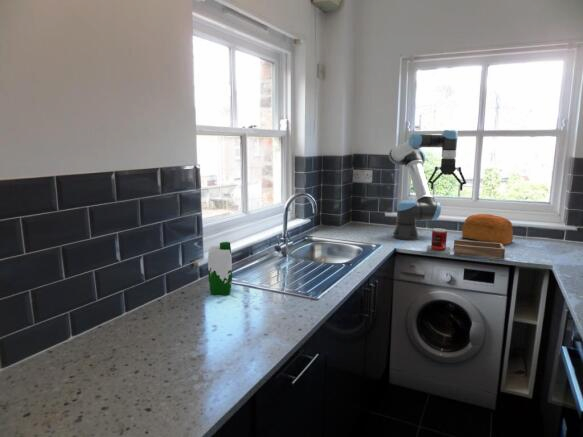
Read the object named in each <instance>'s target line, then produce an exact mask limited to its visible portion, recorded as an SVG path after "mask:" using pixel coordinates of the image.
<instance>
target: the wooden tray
mask: <svg viewBox="0 0 583 437" xmlns="http://www.w3.org/2000/svg"><path fill="white" fill-rule="evenodd" d="M505 253H506V249H505V245H503V244H502V243H491V242H485V241H478V240H465V239H464V240H463V239H454V241H453V254H454V255H459V256H470V257H471V256H472V257H483V258H493V259H505Z"/></svg>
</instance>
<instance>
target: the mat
mask: <svg viewBox="0 0 583 437" xmlns="http://www.w3.org/2000/svg"><path fill="white" fill-rule="evenodd" d="M426 252H427V253H434V254H435V253H438V254H448V255H450V254H451V247H450V246H446V249H445V250H444V251H437V250H433V249H432V248H431V245H430V244H429V245H428V244H427V246H426Z"/></svg>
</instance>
